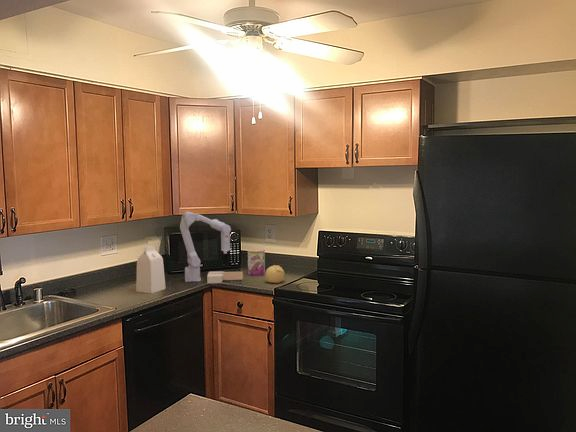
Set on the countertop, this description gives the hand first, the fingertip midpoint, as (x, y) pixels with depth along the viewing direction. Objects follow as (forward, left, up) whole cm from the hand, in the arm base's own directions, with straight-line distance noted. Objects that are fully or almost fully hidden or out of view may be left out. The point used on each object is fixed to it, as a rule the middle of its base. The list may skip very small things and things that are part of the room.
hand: (226, 262), depth 308 cm
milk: (-43, -30, -10) cm, 53 cm away
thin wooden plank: (+4, -11, -9) cm, 15 cm away
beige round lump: (+31, -20, -10) cm, 38 cm away
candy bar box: (+20, +4, -10) cm, 23 cm away
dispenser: (-6, -11, -9) cm, 16 cm away
